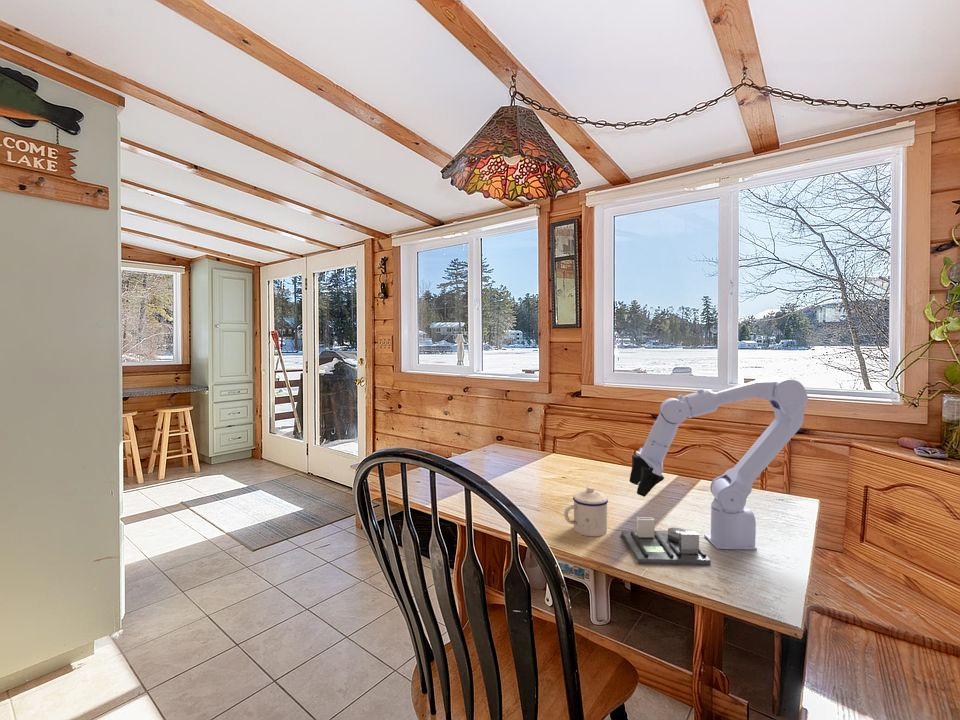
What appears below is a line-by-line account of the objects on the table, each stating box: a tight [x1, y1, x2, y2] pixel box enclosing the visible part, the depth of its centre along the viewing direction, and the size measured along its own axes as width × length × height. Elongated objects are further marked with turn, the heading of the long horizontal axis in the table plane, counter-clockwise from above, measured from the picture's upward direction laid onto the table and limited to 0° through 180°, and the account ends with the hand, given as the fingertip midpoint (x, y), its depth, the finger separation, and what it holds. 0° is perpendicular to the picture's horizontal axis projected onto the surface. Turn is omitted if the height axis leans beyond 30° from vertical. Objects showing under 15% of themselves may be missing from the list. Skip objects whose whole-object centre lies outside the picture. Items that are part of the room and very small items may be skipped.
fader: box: [636, 516, 656, 537], centre depth 119 cm, size 4×2×5 cm, turn 87°
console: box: [620, 527, 711, 566], centre depth 115 cm, size 16×16×6 cm
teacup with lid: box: [563, 486, 609, 538], centre depth 126 cm, size 12×9×12 cm
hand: (636, 488), depth 124 cm, fingers open, 7 cm apart
